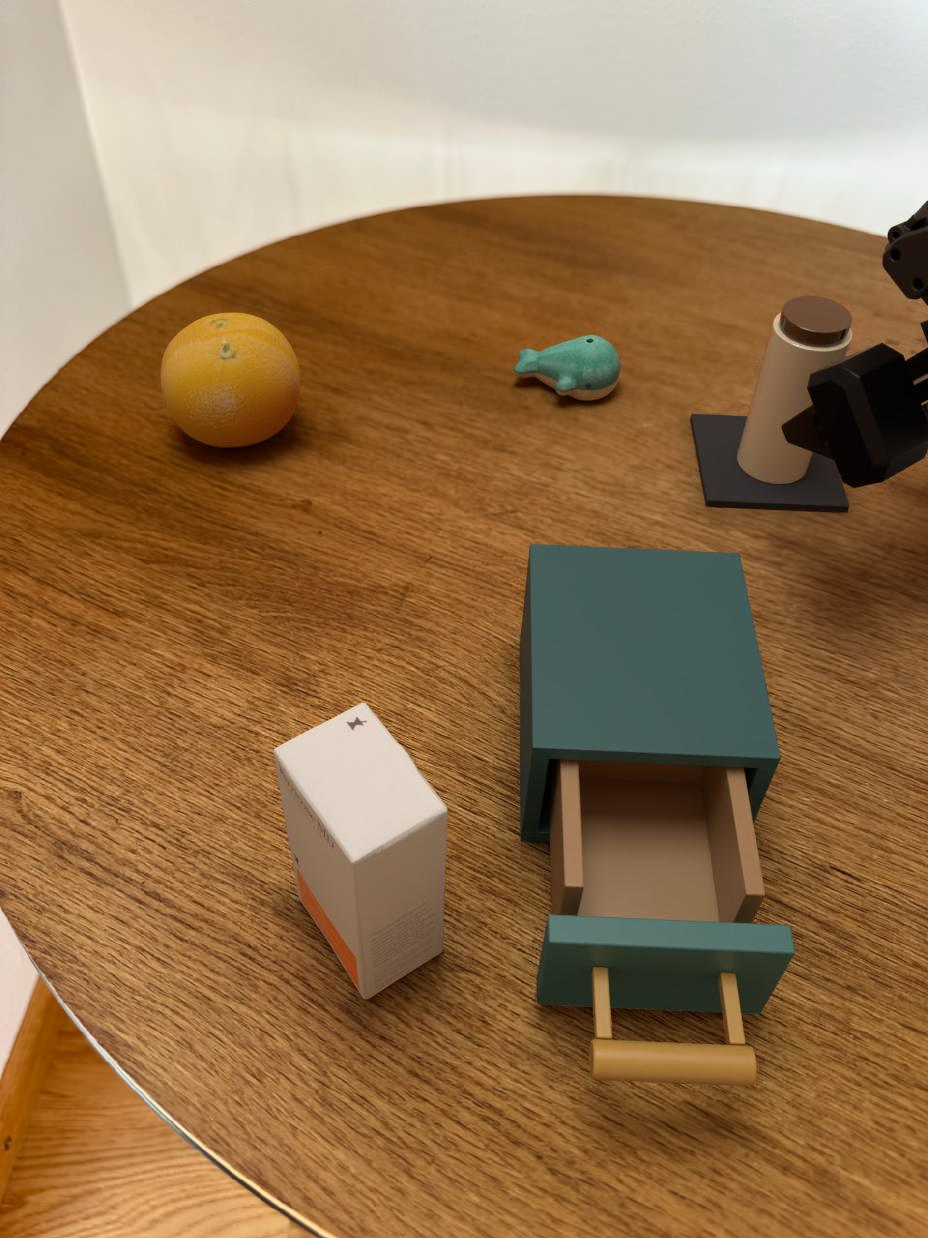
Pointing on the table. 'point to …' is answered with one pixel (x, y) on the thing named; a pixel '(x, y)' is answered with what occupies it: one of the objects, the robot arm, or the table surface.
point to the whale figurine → (574, 367)
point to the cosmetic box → (365, 846)
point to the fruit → (230, 380)
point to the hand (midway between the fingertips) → (838, 406)
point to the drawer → (658, 912)
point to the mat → (739, 489)
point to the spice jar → (790, 384)
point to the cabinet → (639, 668)
